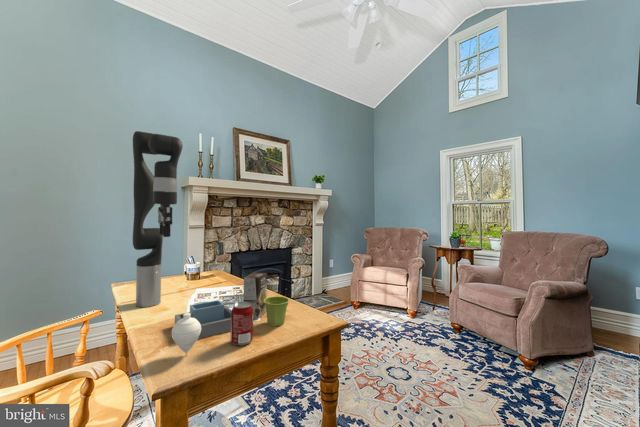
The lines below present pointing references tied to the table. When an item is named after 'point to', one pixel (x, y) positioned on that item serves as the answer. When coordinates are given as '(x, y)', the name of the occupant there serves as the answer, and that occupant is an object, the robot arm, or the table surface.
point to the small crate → (207, 311)
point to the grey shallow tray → (213, 324)
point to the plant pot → (276, 310)
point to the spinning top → (186, 332)
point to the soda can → (241, 323)
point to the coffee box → (256, 292)
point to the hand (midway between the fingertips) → (164, 235)
